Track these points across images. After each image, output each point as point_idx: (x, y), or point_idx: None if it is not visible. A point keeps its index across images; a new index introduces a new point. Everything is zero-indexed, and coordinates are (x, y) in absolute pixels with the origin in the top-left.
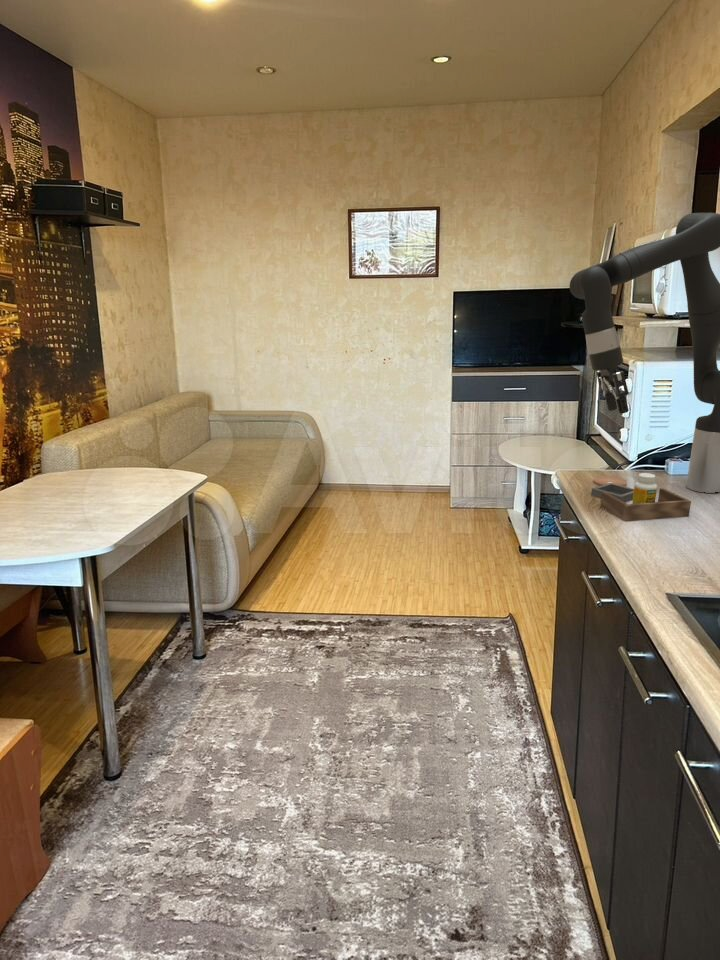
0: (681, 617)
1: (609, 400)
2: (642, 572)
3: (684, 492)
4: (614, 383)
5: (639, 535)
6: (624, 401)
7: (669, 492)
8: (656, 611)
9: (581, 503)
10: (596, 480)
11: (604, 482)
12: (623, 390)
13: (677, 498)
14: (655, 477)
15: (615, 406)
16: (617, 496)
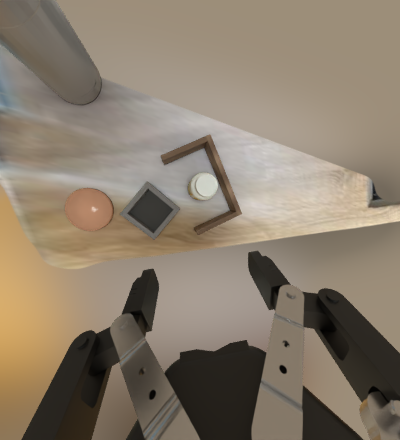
0: (395, 204)
1: (152, 309)
2: (340, 216)
3: (105, 115)
4: (365, 397)
5: (269, 205)
6: (284, 280)
7: (179, 152)
8: (389, 217)
9: (188, 249)
10: (98, 228)
11: (105, 218)
12: (303, 315)
13: (195, 147)
14: (211, 175)
15: (151, 276)
16: (176, 212)
